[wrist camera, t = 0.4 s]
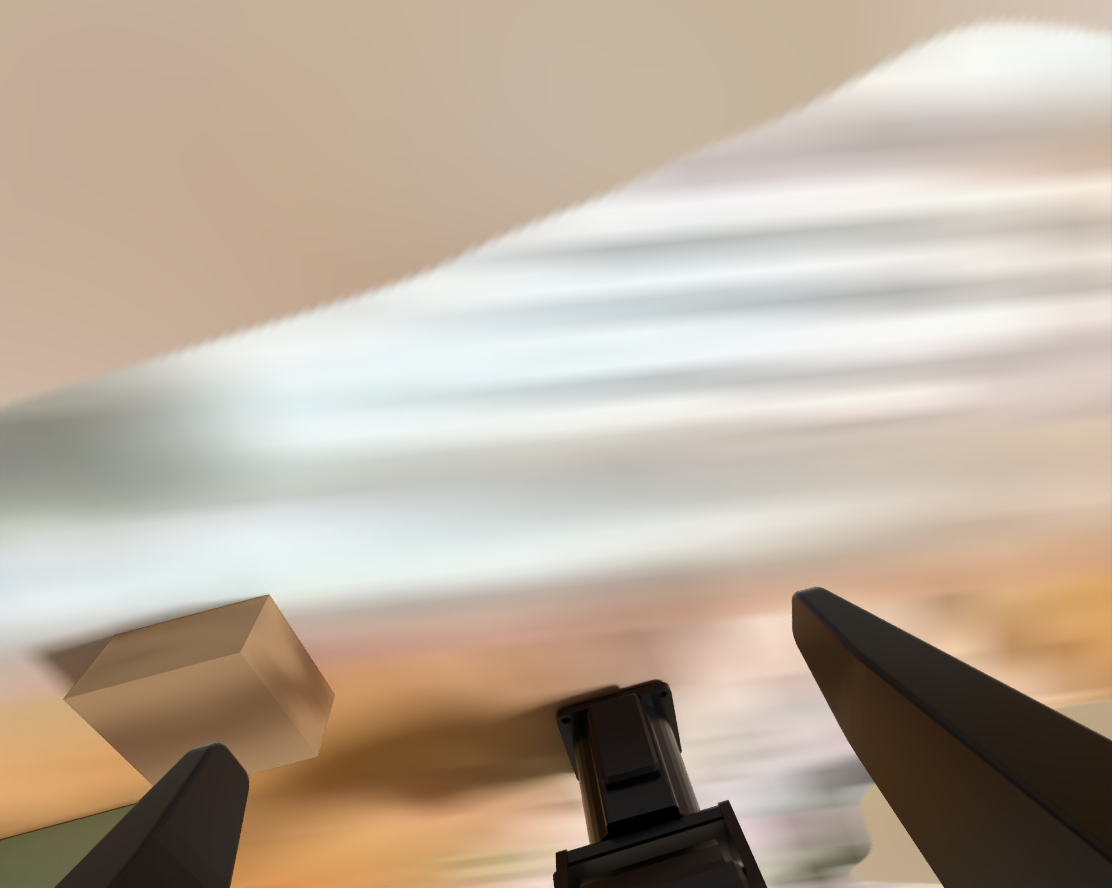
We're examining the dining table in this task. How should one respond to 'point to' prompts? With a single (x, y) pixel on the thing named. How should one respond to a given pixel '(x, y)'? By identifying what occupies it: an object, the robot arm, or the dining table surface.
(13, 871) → the box
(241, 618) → the tan wooden block
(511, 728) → the dining table surface
